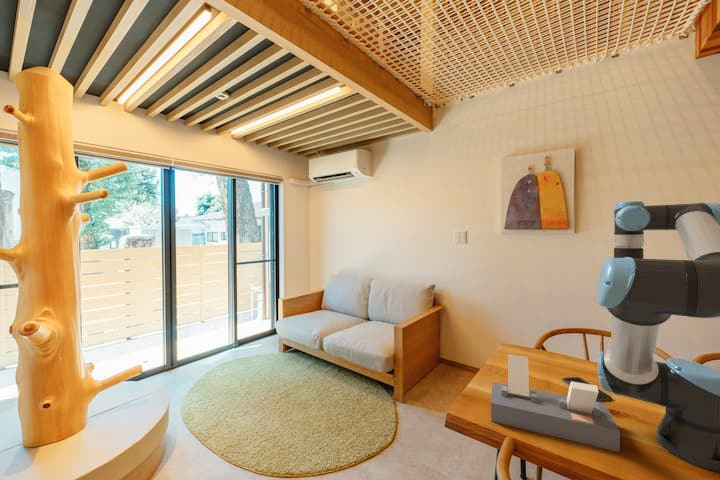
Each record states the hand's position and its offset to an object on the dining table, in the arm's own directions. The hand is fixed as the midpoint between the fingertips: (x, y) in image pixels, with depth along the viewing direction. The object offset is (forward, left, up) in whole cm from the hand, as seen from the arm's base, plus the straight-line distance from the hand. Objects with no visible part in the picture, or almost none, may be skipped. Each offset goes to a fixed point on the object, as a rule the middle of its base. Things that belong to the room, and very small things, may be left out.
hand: (627, 315), depth 102 cm
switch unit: (+11, +33, -30) cm, 46 cm away
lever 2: (+4, +29, -24) cm, 38 cm away
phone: (+11, +2, -31) cm, 33 cm away
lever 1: (+18, +37, -24) cm, 48 cm away
